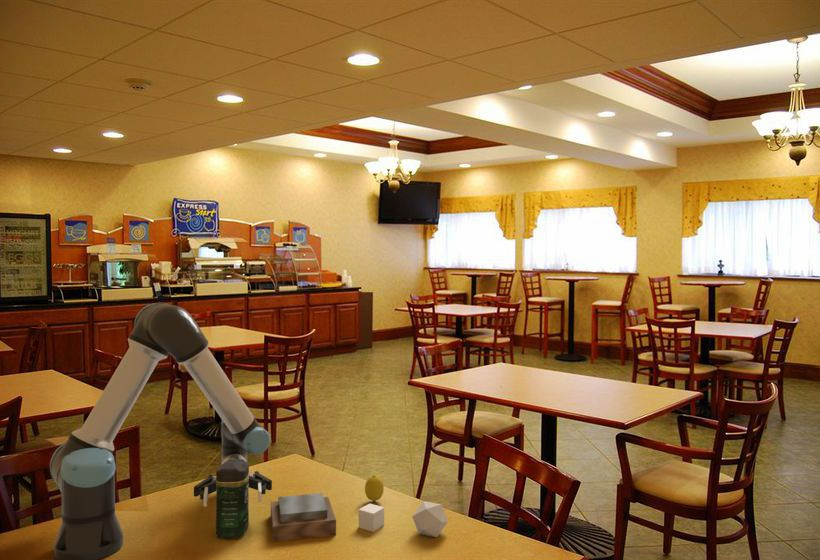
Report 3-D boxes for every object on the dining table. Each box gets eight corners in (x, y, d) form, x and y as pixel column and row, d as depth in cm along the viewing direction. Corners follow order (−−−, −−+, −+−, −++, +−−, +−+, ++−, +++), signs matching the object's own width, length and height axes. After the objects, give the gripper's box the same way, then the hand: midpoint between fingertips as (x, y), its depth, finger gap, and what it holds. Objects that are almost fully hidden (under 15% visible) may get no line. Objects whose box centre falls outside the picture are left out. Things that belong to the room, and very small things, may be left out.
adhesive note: (373, 532, 163) (373, 513, 163) (358, 527, 166) (358, 509, 166) (384, 525, 168) (384, 507, 167) (369, 521, 170) (369, 503, 170)
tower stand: (273, 541, 157) (273, 518, 157) (270, 516, 173) (270, 494, 172) (336, 534, 161) (336, 512, 161) (328, 510, 177) (328, 489, 177)
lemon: (362, 504, 181) (362, 477, 181) (368, 497, 187) (368, 471, 186) (379, 506, 180) (380, 479, 180) (386, 499, 185) (386, 473, 185)
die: (451, 533, 165) (438, 497, 169) (451, 529, 157) (436, 492, 161) (423, 545, 164) (410, 509, 168) (421, 542, 156) (407, 504, 161)
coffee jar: (243, 540, 158) (243, 468, 157) (212, 541, 157) (212, 468, 157) (252, 524, 167) (252, 456, 167) (222, 524, 167) (222, 456, 166)
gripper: (277, 480, 183) (282, 508, 163) (188, 488, 177) (181, 518, 156) (277, 455, 183) (282, 480, 162) (188, 461, 176) (181, 489, 156)
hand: (232, 499), depth 159 cm, fingers open, 13 cm apart
